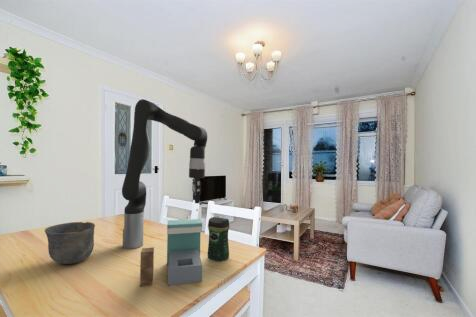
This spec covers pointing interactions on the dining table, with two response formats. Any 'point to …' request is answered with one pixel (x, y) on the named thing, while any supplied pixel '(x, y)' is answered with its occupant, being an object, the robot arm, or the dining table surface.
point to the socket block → (184, 267)
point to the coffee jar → (218, 239)
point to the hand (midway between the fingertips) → (196, 201)
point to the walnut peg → (146, 266)
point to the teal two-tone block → (183, 235)
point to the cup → (70, 241)
